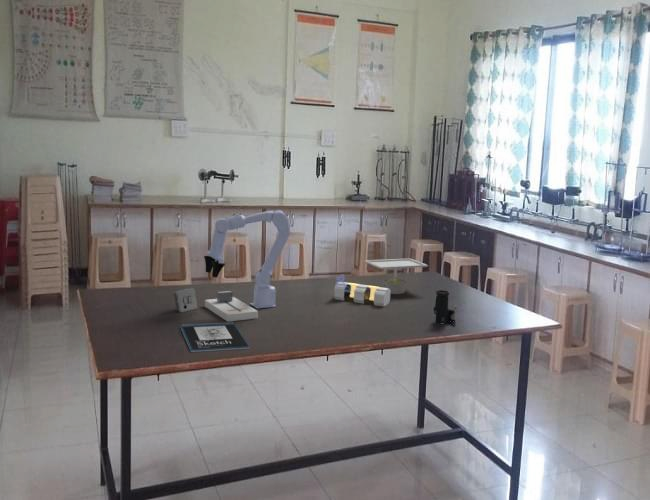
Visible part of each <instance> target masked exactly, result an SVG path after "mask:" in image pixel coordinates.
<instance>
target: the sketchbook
mask: <svg viewBox="0 0 650 500" xmlns="http://www.w3.org/2000/svg"><path fill="white" fill-rule="evenodd" d="M180 329H181V332H182V334H183V337H184V339H185V341H186V344H187V346H188V348H189V350H190V352H191V353H199V352H201V353H202V352H214V351H216V352H217V351H231V350H232V351H233V350H246V349H250V348H251V346H250V344H249V343H248V341H247V340H246V339H245V337H244V336H243V334H242V333H241V331H240V329H239V328H238V327H237V325H236V324H235V322H232V321H229V322H227V321H226V322H222V323H217V322H215V323H214V322H211V323H210V322H209V323H193V324H189V323H188V324H184V323H182V325H180Z"/></svg>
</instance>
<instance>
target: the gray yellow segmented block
mask: <svg viewBox="0 0 650 500" xmlns="http://www.w3.org/2000/svg"><path fill="white" fill-rule="evenodd" d="M345 280H346V277H345V274H344V273H343V274H341V275H338V276H336V281H335V286H334V290H333V298H334V300H337V301H338V300H339V301H345V297H346V298H348V297H349V298H353V302H354V303H357V304H365V300H366V301H367V300H368V301H373V305H374V306H378V307H383V308H384V307H386V306H387V305H389V303H390V300H391V293H390V292H391V290H390V289H389V288H385V287H381V286H375V285H367V284H360V283H353V282H347V281H345Z"/></svg>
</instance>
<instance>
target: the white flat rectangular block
mask: <svg viewBox="0 0 650 500" xmlns="http://www.w3.org/2000/svg"><path fill="white" fill-rule="evenodd" d="M204 307H205V308H206V309H208V310H209V311H211V312H212V313H214V314H215V315H217V316H218V317H220V318H221V319H223V320H225V321H226V322H227V323H228V322H229V323H230V322H235V321H244V320H245V321H246V320H255V319H259V310H257V309H255V307H253V306H251V305H248V304H247V303H245V302H243V301H241V299H239V298H236V297H235V296H232V301H228V302H218V301H217V298H213V299H205V300H204Z"/></svg>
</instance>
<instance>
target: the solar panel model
mask: <svg viewBox="0 0 650 500" xmlns="http://www.w3.org/2000/svg"><path fill="white" fill-rule="evenodd" d="M363 262H364V263H366V264H368V265H371V267H372V266H373V267H375V268H378V269H380V270H390V269H391V270H392V269H393V278H387V279H385V280H384V288H389V289H390V290H391V292H390V295H391V294H393V295H400V294H401V295H402V294H404V293H405V292H406V281H405V280H404V279H400V278H399V279H398V278H397V273H398V269H411V268H426V267H427V268H428V267H429V265H428V264H426V263H423V262H421V261H419V260H415V259H413V258H408V257H407V258H393V259H392V258H389V259H387V258H386V259H366V260H363Z"/></svg>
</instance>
